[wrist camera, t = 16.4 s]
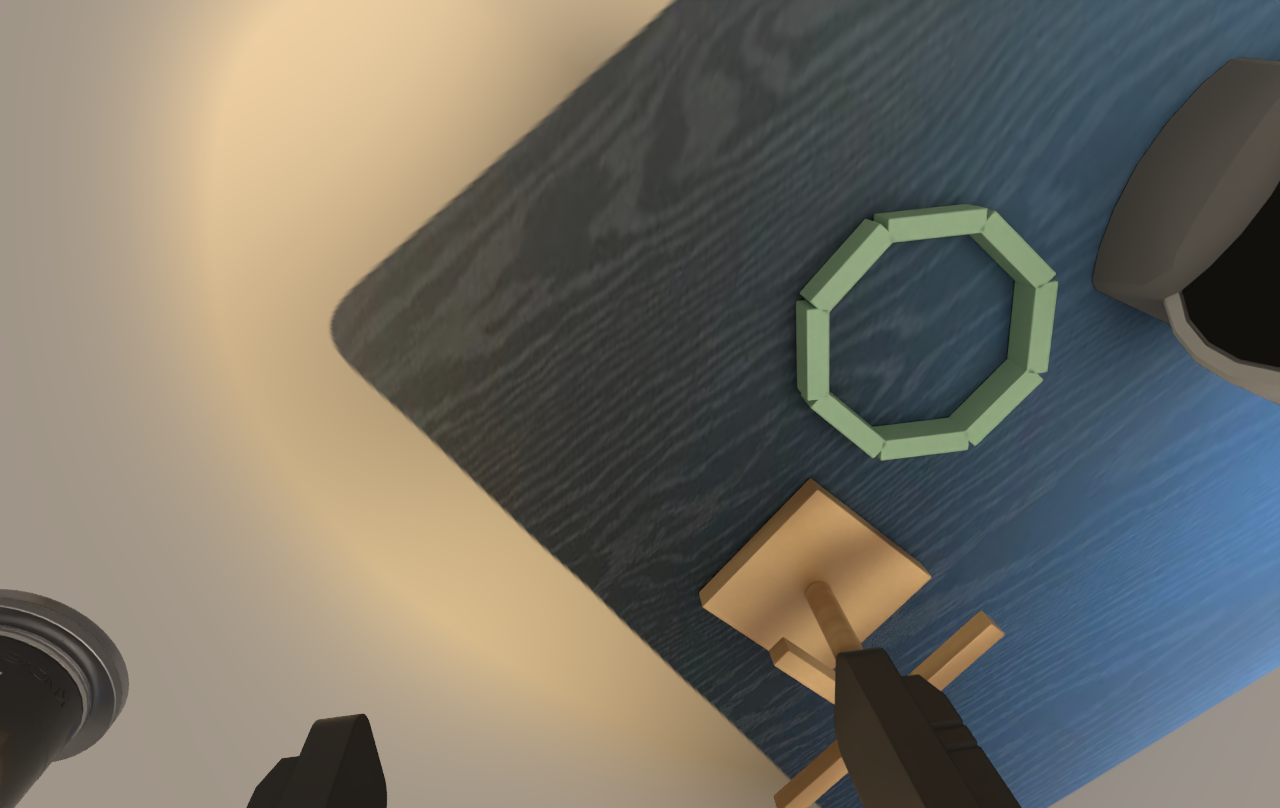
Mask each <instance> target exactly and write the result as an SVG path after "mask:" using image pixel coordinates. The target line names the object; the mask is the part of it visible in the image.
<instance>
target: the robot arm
mask: <svg viewBox="0 0 1280 808" xmlns="http://www.w3.org/2000/svg"><path fill="white" fill-rule="evenodd" d="M91 708H92V692H91V688H90V685H89V682H88V680H87V678H86V676H85V674H84V672H83V671H82V669H81V668H80V667H79V665H78V664H77V663H76V662H75V661H74V660H73V659H72V658H71V657H70V656H69V655H68V654H67V653H66V652H65V651H63V650H62V649H61V648H60V647H58V646H57V645H55V644H54V643H52V642H50V641H48V640H47V639H45V638H43V637H41V636H39V635H36V634H34V633H31V632H29V631H26V630H23V629H19V628H16V627H11V626H6V625H0V808H15V806H16V805H17V804H18V803H19V801H20V800H21V799H22V798H23V797H24V795H25V794H26V793H27V792H28V790H29V789H30V788H31V787H32V785H33V784H34V783H35V782H36V781H37V780H38V779H39V777H40V776H41V775H42V774H43V772H44V771H45V770H46V769H47V767H48V766H49V765H50V764H51V762H52V761H53V760H54V759H55V758H56V756H57V755H58V754H59V753H60V751H61V750H62V749H63V748H64V746H65V745H66V744H67V743H68V742H70V741H71V740H72V739H73V738H74V737H75V736H76V734H77V733H78V732H79V731H80V729H81V728H82V727H83V726H84V724H85V723H86V721H87V719H88V717H89V715H90V712H91ZM834 725H835V733H836V738H837V743H838V747H839V750H840V753H841V756H842V759H843V761H844V764H845V766H846V768H847V770H848V773H849V775H850V777H851V779H852V782H853V784H854V786H855V788H856V791H857V793H858V795H859V798H860V800H861V802H862V804H863V807H864V808H1021V806H1020V805H1019V803H1018V802H1017V800H1016V799H1015V797H1014V796H1013V794H1012V793H1011V791H1010V790H1009V788H1008V787H1007V785H1006V784H1005V782H1004V781H1003V779H1002V778H1001V777H1000V775H999V774H998V772H997V771H996V769H995V768H994V766H993V765H992V763H991V762H990V760H989V759H988V757H987V756H986V754H985V753H984V751H983V750H982V748H981V747H978V745H977V741H976V739H975V738H974V736H973V735H972V733H971V732H970V731H969V729H968V728H967V726H966V725H965V726H964V724H963V720H962V719H961V717H960V716H959V714H958V713H957V711H956V710H955V708H954V707H953V705H952V704H951V702H950V701H949V699H948V698H947V696H946V695H945V694H944V693H943V692H941V691H940V690H939V689H937V688H936V687H935V686H933V685H932V684H931V683H929V682H928V681H927V680H926V679H924V678H923V677H922V676H920V675H919V674H916V675H909V676H902V677H901V675H900V674H899V672H898V670H897V669H896V667H895V665H894V664H893V662H892V661H891V659H890V657H889V656H888V654H887V653H886V651H885V650H884V649H883V648H881V647H876V648H869V649H861V650H853V651H846V652H839V653H838V654H837V656H836V668H835V707H834ZM386 807H387V790H386V782H385V778H384V774H383V770H382V766H381V763H380V759H379V756H378V752H377V748H376V745H375V741H374V738H373V734H372V730H371V726H370V723H369V720H368V718H367V716H366V715H365V714H357V715H350V716H342V717H334V718H327V719H320V720H317V721H316V722H315V723H314V724H313V725H312V728H311V730H310V732H309V734H308V737H307V739H306V741H305V744H304V746H303V749H302V751H301V753H300V756H297V757H289V758H282V759H281V760H280V761H279V762H278V763H277V765H276V766H275V767H274V768H273V769H272V770H271V771H270V772H269V773H268V774H267V776H266V777H265V778H264V779H263V780H262V781H261V782H260V784H259V785H258V786H257V787H256V788H255V791H254V793H253V795H252V797H251V799H250V801H249V803H248V806H247V808H386Z"/></svg>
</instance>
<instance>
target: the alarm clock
mask: <svg viewBox="0 0 1280 808" xmlns="http://www.w3.org/2000/svg"><path fill="white" fill-rule="evenodd" d="M1092 281H1093V284H1094V286H1095V288H1096V290H1097V291H1100V292H1102V293H1104V294H1106V295H1108V296H1110V297H1112V298H1115V299H1117V300H1119V301H1121V302H1123V303H1125V304H1127V305H1130V306H1132V307H1134V308H1136V309H1138V310H1140V311H1142V312H1145V313H1147V314H1149V315H1151V316H1153V317H1155V318H1157V319H1160V320H1162V321H1164V322H1166V323H1168V324H1170V325H1171V327H1172V331H1173V334H1174V335H1175V337H1176V338H1177V339H1178V341H1179V342H1180V343H1181V344H1182V346H1183V347H1184V348H1185V349H1186V351H1187V352H1188V353H1189V355H1190V356H1191V357H1192V358H1193V360H1194V361H1195V362H1196V363H1198V364H1200V365H1201V366H1203V367H1205V368H1206V369H1208V370H1210V371H1211V372H1213V373H1215V374H1216V375H1218V376H1220V377H1221V378H1223V379H1225V380H1226V381H1228V382H1230V383H1232V384H1234V385H1236V386H1238V387H1241V388H1243V389H1245V390H1247V391H1249V392H1252V393H1254V394H1256V395H1258V396H1260V397H1263V398H1265V399H1267V400H1269V401H1271V402H1274V403H1276V404H1278V405H1280V61H1273V60H1263V59H1253V58H1244V57H1243V58H1237V59H1232V60H1230V61H1229V62H1228V63H1226V64H1225V65H1224V66H1223V67H1222V68H1220V69H1219V70H1218V71H1217V72H1216V73H1214V74H1213V75H1212V76H1211V77H1210V78H1209V79H1207V80H1206V81H1205V82H1204V83H1203V84H1202V85H1201V86H1200V87H1199V88H1198V89H1197V90H1196V91H1195V92H1194V93H1193V95H1192V96H1191V97H1190V98H1189V99H1188V100H1187V101H1186V102H1185V103H1184V105H1183V106H1182V107H1181V108H1180V109H1179V110H1178V111H1177V112H1176V113H1175V115H1174V116H1173V117H1172V118H1171V119H1170V120H1169V121H1168V122H1167V124H1166V125H1165V126H1164V128H1163V129H1162V131H1161V132H1160V133H1159V135H1158V136H1157V138H1156V139H1155V140H1154V142H1153V143H1152V145H1151V146H1150V147H1149V149H1148V150H1147V152H1146V153H1145V154H1144V156H1143V157H1142V159H1141V160H1140V161H1139V163H1138V164H1137V166H1136V168H1135V170H1134V172H1133V174H1132V176H1131V177H1130V179H1129V181H1128V183H1127V185H1126V187H1125V189H1124V191H1123V193H1122V195H1121V197H1120V199H1119V200H1118V202H1117V204H1116V206H1115V208H1114V211H1113V213H1112V216H1111V218H1110V221H1109V224H1108V226H1107V229H1106V232H1105V234H1104V237H1103V240H1102V242H1101V245H1100V248H1099V250H1098V255H1097V260H1096V265H1095V270H1094V274H1093V279H1092Z"/></svg>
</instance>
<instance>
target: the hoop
mask: <svg viewBox="0 0 1280 808" xmlns="http://www.w3.org/2000/svg"><path fill="white" fill-rule="evenodd" d="M966 234H969V235H970V236H971V237H972V238H973V239H974V240H975V241H976V242H977V243H978V244H979V245H980V246H981V247H982V248H983V249H984V250H985V251H986V252H987V253H988V254H989V255H990V256H991V257H992V258H993V259H994V260H995V261H996V262H997V263H998V264H999V265H1000V266H1001V267H1002V268H1003V269H1004V270H1005V271H1006V272H1007V273H1008V274H1009V275H1010V276H1011V277H1012V278H1013V279H1014V280H1015V285H1014V296H1013V306H1012V316H1011V326H1010V336H1009V346H1008V356H1007V360H1006V361H1005V362H1004V363H1003V364H1002V365H1001V366H1000V367H999V368H998V369H997V370H996V371H995V372H994V373H993V374H992V375H991V376H990V377H989V378H988V379H987V380H986V381H985V382H984V383H983V384H982V385H981V386H980V387H979V388H978V389H977V390H976V391H975V392H974V393H973V394H972V395H971V396H970V397H969V398H968V399H967V400H966V401H965V402H964V403H962V404H961V405H960V406H959V407H958V408H957V409H956V410H955V411H954V412H953V413H952V414H951V415H950V416H949V417H948V418H941V419H933V420H925V421H917V422H908V423H900V424H892V425H884V426H875V427H872V426H871V425H870V424H868V423H867V422H866V421H865V420H864V419H862V418H861V417H860V416H859V415H858V414H856V413H855V412H854V411H853V410H852V409H850V408H849V407H848V406H847V405H846V404H844V403H843V402H842V401H841V400H840V399H838V398H837V397H836V396H835V395H834V394H832V393H831V392H830V391H829V312H830V311H831V310H832V309H833V308H834V306H835V305H836V304H837V303H838V302H839V301H840V300H841V299H842V298H843V297H844V295H845V294H846V293H847V292H848V291H849V290H850V289H851V288H852V287H853V286H854V284H855V283H856V282H857V281H858V280H859V279H860V278H861V277H862V276H863V275H864V273H865V272H866V271H867V270H868V269H869V268H870V267H871V266H872V265H873V264H874V262H875V261H876V260H877V259H878V258H879V257H880V256H881V255H882V254H883V253H884V251H885V250H886V249H887V248H888V247H889V246H890V245H891V244H892V243H894V242H903V241H912V240H921V239H930V238H939V237H948V236H957V235H966ZM1055 275H1056V273H1055V272H1054V271H1053V270H1052V269H1051V268H1050V267H1049V266H1048V265H1047V264H1046V262H1045V261H1044V260H1043V259H1042V258H1041V257H1040V256H1039V255H1038V254H1037V253H1036V252H1035V251H1034V250H1033V249H1032V248H1031V247H1030V246H1029V245H1028V244H1027V243H1026V242H1025V241H1024V240H1023V239H1022V238H1021V237H1020V236H1019V234H1018V233H1017V232H1016V231H1015V230H1014V229H1013V228H1012V227H1011V226H1010V225H1009V224H1008V223H1007V222H1006V221H1005V220H1004V219H1003V218H1002V217H1001V216H1000V215H999V214H998V213H997V212H996V211H993V210H989V209H987V208H984V207H979V206H975V205H970V204H960V205H951V206H942V207H933V208H924V209H915V210H905V211H896V212H887V213H878V214H874V221H871V220H868V219H865V220H864V221H863V222H862V223H861V224H860V225H859V226H858V227H857V229H856V230H855V231H854V232H853V233H852V234H851V235H850V236H849V238H848V239H847V240H846V241H845V242H844V243H843V244H842V245H841V247H840V248H839V249H838V250H837V251H836V252H835V253H834V254H833V256H832V257H831V258H830V259H829V260H828V261H827V262H826V263H825V265H824V266H823V267H822V268H821V269H820V270H819V271H818V272H817V274H816V275H815V276H814V277H813V278H812V279H811V280H810V281H809V283H808V284H807V285H806V286H805V287H804V288H803V289H802V290H801V291H800V295H801V296H802V297H804V298H805V299H806V300H801V301H796V344H797V388H798V390H799V391H800V392H801V396H802V398H803V399H804V400H805V401H806V403H807V404H808V405H809V406H810V408H811V409H813V410H814V411H815V412H816V413H818V414H819V415H820V416H821V417H822V418H824V419H825V420H826V421H827V422H829V423H830V424H831V425H832V426H834V427H835V428H836V429H837V430H838V431H840V432H841V433H842V434H843V435H845V436H846V437H847V438H848V439H850V440H851V441H852V442H853V443H854V444H856V445H857V446H858V447H859V448H861V449H862V450H863V451H864V452H866V453H867V454H868V455H869V456H870V457H872V458H875V457H876V456H877V457H878V458H879V459H880V460H889V459H898V458H906V457H914V456H922V455H930V454H938V453H946V452H954V451H962V450H968V442H970V443H972V444H973V445H974V446H976V445H977V444H978V443H979V442H980V441H981V440H982V439H983V438H984V437H985V436H986V435H987V434H988V433H989V432H990V431H991V430H992V429H993V428H994V427H996V426H997V425H998V424H999V423H1000V422H1001V421H1002V420H1003V419H1004V418H1005V417H1006V416H1007V415H1008V414H1009V413H1010V412H1011V411H1012V410H1013V409H1014V408H1015V407H1016V406H1017V405H1018V404H1019V403H1020V402H1021V401H1022V400H1023V399H1024V398H1025V397H1026V396H1027V395H1028V394H1029V393H1031V392H1032V391H1033V390H1034V389H1035V388H1036V387H1037V386H1038V385H1039V384H1040V383H1041V382H1042V381H1043V379H1042V378H1041V377H1040V376H1039V375H1038V374H1037V373H1044V372H1047V371H1048V362H1049V354H1050V346H1051V338H1052V330H1053V322H1054V313H1055V305H1056V297H1057V289H1058V281H1055V280H1052V278H1053V277H1054V276H1055Z"/></svg>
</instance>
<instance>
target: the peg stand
mask: <svg viewBox="0 0 1280 808" xmlns="http://www.w3.org/2000/svg"><path fill="white" fill-rule="evenodd" d="M930 579H931V576H930V574H929V573H928V572H927V571H926V569H925V568H924V567H923V565H922V564H921V563H920V562H918V561H917V560H916V559H914V558H913V557H912V556H911V555H909V554H908V553H907V552H905V551H904V550H903V549H902V548H900V547H899V546H898V545H896V544H895V543H894V542H892V541H891V540H890V539H889V538H887V537H886V536H885V535H883V534H882V533H881V532H880V531H878V530H877V529H876V528H874V527H873V526H872V525H871V524H869V523H868V522H867V521H865V520H864V519H863V518H861V517H860V516H859V515H858V514H856V513H855V512H854V511H852V510H851V509H850V508H849V507H847V506H846V505H845V504H843V503H842V502H841V501H839V500H838V499H837V498H836V497H834V496H833V495H832V494H830V493H829V492H828V491H827V490H825V489H824V488H823V487H821V486H820V485H819V484H818V483H816V482H815V481H814V480H812V479H811V478H810V479H809V480H808V481H807V482H806V483H805V484H804V485H803V486H802V487H801V488H800V489H799V490H798V491H797V492H796V493H795V494H794V495H793V496H792V497H791V498H790V499H789V500H788V501H787V502H786V503H785V504H784V505H783V506H782V507H781V508H780V509H779V510H778V512H777V513H776V514H775V515H774V516H773V517H772V518H771V519H770V520H769V521H768V522H767V523H766V524H765V525H764V526H763V527H762V528H761V529H760V530H759V531H758V532H757V533H756V534H755V535H754V536H753V537H752V538H751V539H750V540H749V541H748V542H747V543H746V544H745V545H744V547H743V548H742V549H741V550H740V551H739V552H738V553H737V554H736V555H735V556H734V557H733V558H732V559H731V560H730V561H729V562H728V563H727V564H726V565H725V566H724V567H723V568H722V569H721V570H720V571H719V572H718V573H717V574H716V575H715V576H714V577H713V578H712V579H711V581H710V582H709V583H708V584H707V585H706V586H705V587H704V588H703V589H702V590H701V591H700V592H699V595H700V599H701V603H702V607H703V608H705V609H706V610H708V611H709V612H711V613H712V614H714V615H715V616H717V617H718V618H720V619H721V620H723V621H724V622H726V623H727V624H729V625H730V626H732V627H733V628H735V629H736V630H738V631H740V632H741V633H743V634H744V635H746V636H747V637H749V638H750V639H752V640H753V641H755V642H756V643H758V644H759V645H761V646H762V647H764V648H765V649H767V650H768V651H769V653H770V655H771V658H772V661H773V664H774V665H775V666H776V667H778V668H779V669H781V670H782V671H784V672H785V673H787V674H788V675H790V676H791V677H793V678H794V679H796V680H797V681H799V682H801V683H802V684H804V685H805V686H807V687H808V688H810V689H811V690H813V691H814V692H816V693H817V694H819V695H820V696H822V697H824V698H825V699H827V700H828V701H830V702H831V703H833V704H834V705H835V671H834V670H833V669H834V668H835V667H836V656H837V654H838V653H839V652H846V651H853V650H861V649H863V647H862V645H861V643H862V642H863V641H864V640H865V639H866V638H867V637H868V636H869V635H870V634H871V633H873V632H874V631H875V630H876V629H877V628H878V627H879V626H880V625H881V624H882V623H883V622H884V621H885V620H887V619H888V618H889V617H890V616H891V615H892V614H893V613H894V612H895V611H896V610H897V609H898V608H899V607H901V606H902V605H903V604H904V603H905V602H906V601H907V600H908V599H909V598H910V597H911V596H912V595H913V594H914V593H916V592H917V591H918V590H919V589H920V588H921V587H922V586H923V585H924V584H925V583H926V582H927V581H928V580H930ZM1004 635H1005V634H1004V632H1003V631H1002V630H1001V629H1000V627H999V626H998V625H997V624H996V622H995V621H994V620H993V619H991V618H990V617H989V616H987V615H986V614H985V613H983V612H982V611H979V612H978V613H977V614H976V615H975V616H974V617H973V618H972V619H971V620H969V621H968V622H967V623H966V624H965V625H964V626H963V627H962V628H961V629H959V630H958V631H957V632H956V633H955V634H954V635H953V636H952V637H950V638H949V639H948V640H947V641H946V642H945V643H944V644H943V645H942V646H940V647H939V648H938V649H937V650H936V651H935V652H934V653H933V654H932V655H930V656H929V657H928V658H927V659H926V660H925V661H924V662H923V663H921V664H920V665H919V666H918V667H917V668H916V669H915V670H914V671H913V672H911V673H910V674H909V675H916V674H919V675H920V676H922V677H923V678H924V679H926V680H927V681H928V682H929V683H931V684H932V685H933V686H935V687H936V688H937V689H939V690H940V691H941V690H942V689H943V688H945V687H946V686H947V685H948V684H949V683H950V682H951V681H953V680H954V679H955V678H956V677H957V676H958V675H959V674H961V673H962V672H963V671H964V670H965V669H966V668H967V667H968V666H970V665H971V664H972V663H973V662H974V661H975V660H976V659H978V658H979V657H980V656H981V655H982V654H983V653H984V652H986V651H987V650H988V649H989V648H990V647H991V646H992V645H994V644H995V643H996V642H997V641H998V640H999V639H1000V638H1002V637H1003V636H1004ZM909 675H908V676H909ZM847 773H848V770H847V768H846V766H845V764H844V761H843V759H842V756H841V753H840V750H839V747H838V743H837V740H836V741H835V742H833V743H832V744H831V745H830V746H829V747H828V748H827V749H826V750H824V751H823V752H822V753H821V754H820V755H819V756H818V757H817V758H816V759H814V760H813V761H812V762H811V763H810V764H809V765H808V766H807V767H806V768H804V769H803V770H802V771H801V772H800V773H799V774H798V775H797V776H795V777H794V778H793V779H792V780H791V781H790V782H789V783H788V784H787V785H785V786H784V787H783V788H782V789H781V790H780V791H779V792H778V793H777V794H775V796H774V799H775V803H776V806H777V808H808V807H809V806H810V805H811V804H812V803H813V802H815V801H816V800H817V799H818V798H819V797H820V796H821V795H823V794H824V793H825V792H826V791H827V790H828V789H829V788H831V787H832V786H833V785H834V784H835V783H836V782H837V781H839V780H840V779H841V778H842V777H843V776H844V775H845V774H847Z"/></svg>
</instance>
